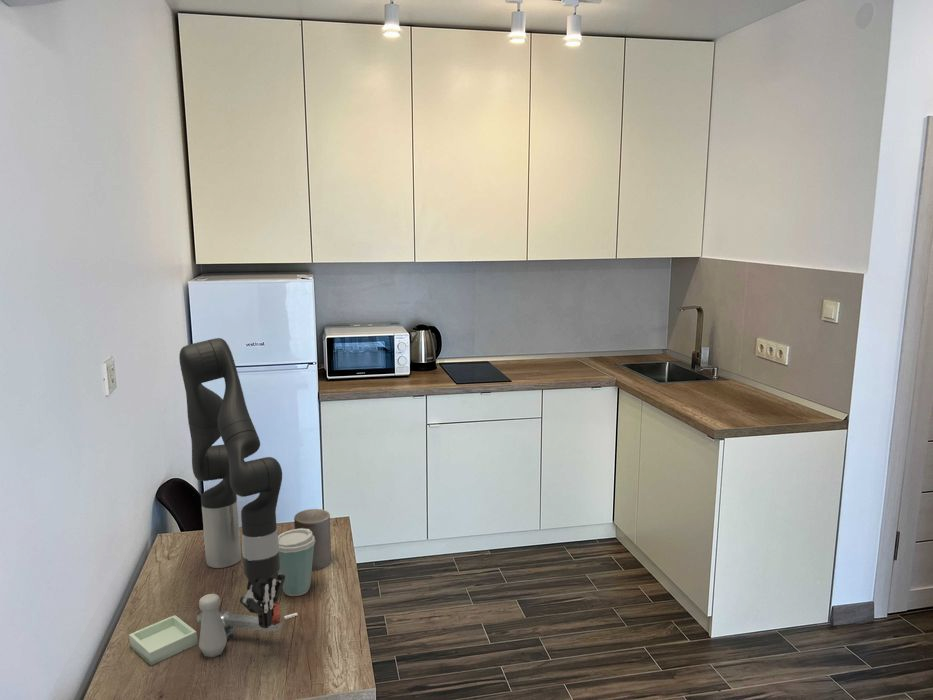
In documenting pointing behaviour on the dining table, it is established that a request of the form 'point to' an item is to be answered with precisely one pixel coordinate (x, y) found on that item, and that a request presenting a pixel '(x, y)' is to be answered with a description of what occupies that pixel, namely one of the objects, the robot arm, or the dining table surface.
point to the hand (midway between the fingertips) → (265, 626)
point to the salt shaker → (211, 627)
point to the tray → (163, 639)
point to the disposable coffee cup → (296, 560)
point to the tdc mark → (290, 616)
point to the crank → (248, 620)
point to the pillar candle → (317, 534)
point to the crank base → (229, 633)
